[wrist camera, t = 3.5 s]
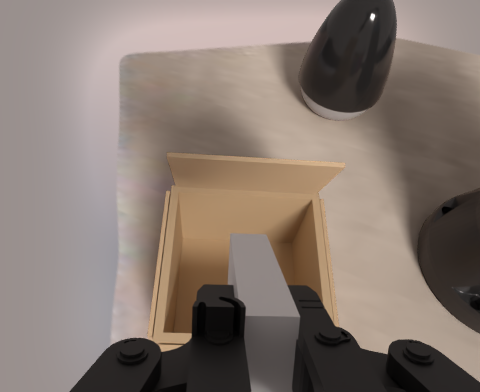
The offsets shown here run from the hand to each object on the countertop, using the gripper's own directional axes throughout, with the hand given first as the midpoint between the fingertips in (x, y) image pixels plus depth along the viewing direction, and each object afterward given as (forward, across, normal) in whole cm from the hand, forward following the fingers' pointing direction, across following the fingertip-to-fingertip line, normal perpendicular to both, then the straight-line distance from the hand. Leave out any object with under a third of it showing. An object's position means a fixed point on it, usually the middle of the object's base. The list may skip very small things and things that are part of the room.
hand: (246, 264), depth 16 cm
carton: (+18, +1, -11) cm, 21 cm away
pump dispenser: (+36, +14, +8) cm, 39 cm away
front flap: (+12, +1, +2) cm, 12 cm away
